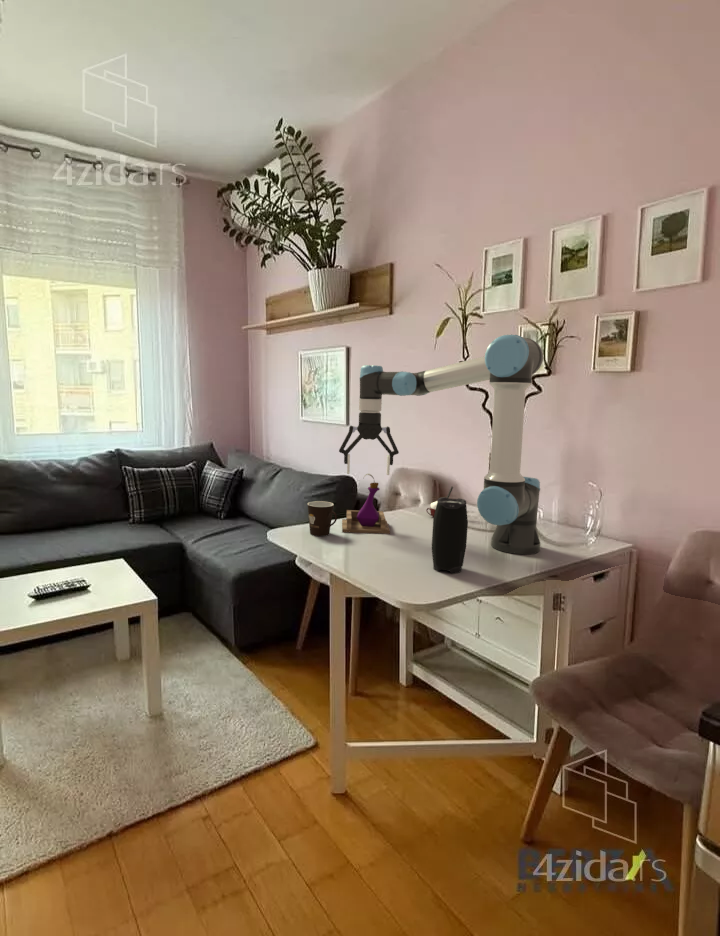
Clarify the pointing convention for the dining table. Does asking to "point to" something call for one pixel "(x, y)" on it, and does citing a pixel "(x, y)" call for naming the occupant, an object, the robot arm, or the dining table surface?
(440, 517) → the portable speaker
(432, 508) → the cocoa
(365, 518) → the perfume bottle
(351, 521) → the walnut cradle
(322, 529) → the coffee mug
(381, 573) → the dining table surface
